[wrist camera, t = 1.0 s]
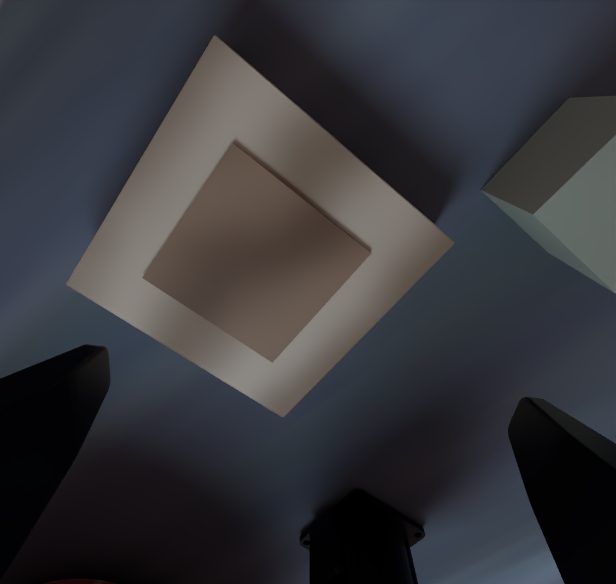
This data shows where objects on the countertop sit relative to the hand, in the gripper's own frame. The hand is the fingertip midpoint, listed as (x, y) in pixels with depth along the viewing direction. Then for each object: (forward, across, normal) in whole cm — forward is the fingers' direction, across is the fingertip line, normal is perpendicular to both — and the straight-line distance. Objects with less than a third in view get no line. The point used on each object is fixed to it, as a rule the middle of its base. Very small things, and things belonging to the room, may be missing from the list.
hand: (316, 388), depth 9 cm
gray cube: (+12, -11, -4) cm, 17 cm away
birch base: (+12, +2, +1) cm, 13 cm away
